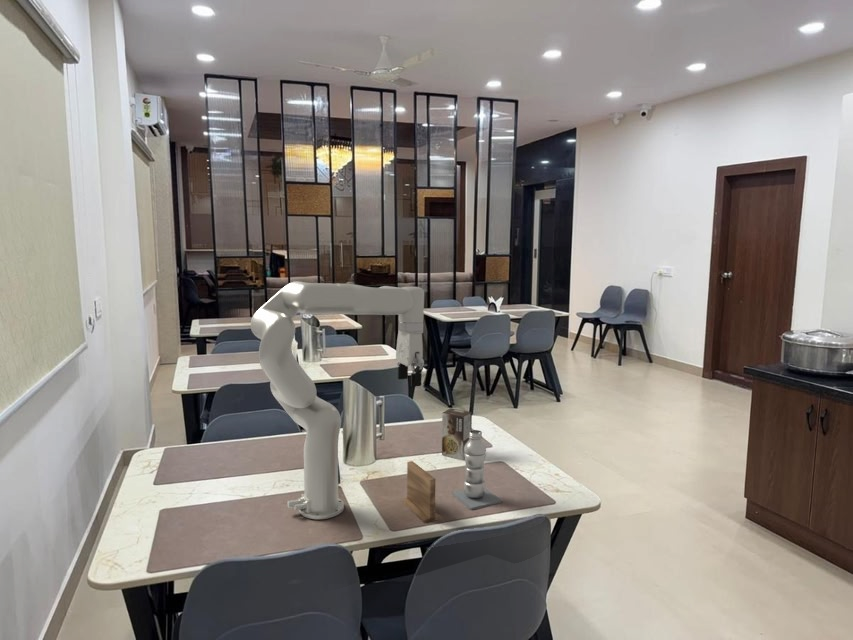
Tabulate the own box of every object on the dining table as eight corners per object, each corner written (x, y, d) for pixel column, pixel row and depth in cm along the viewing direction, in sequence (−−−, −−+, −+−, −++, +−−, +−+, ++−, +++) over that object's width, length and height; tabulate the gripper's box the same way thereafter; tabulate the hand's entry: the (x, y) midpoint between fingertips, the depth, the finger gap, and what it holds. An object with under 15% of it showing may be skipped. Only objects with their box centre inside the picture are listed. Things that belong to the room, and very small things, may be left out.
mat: (470, 509, 161) (470, 507, 161) (451, 494, 170) (451, 492, 170) (502, 502, 166) (502, 500, 166) (481, 487, 176) (481, 485, 176)
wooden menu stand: (424, 522, 153) (424, 481, 151) (401, 501, 165) (402, 462, 164) (440, 518, 155) (440, 477, 154) (416, 498, 168) (417, 460, 166)
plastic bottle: (484, 501, 164) (486, 436, 162) (461, 499, 166) (462, 434, 163) (486, 492, 171) (488, 429, 168) (464, 490, 172) (465, 427, 169)
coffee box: (471, 455, 202) (472, 411, 200) (463, 460, 197) (464, 416, 195) (449, 449, 207) (450, 407, 205) (440, 455, 202) (441, 411, 200)
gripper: (388, 324, 176) (387, 377, 178) (411, 332, 161) (409, 390, 163) (410, 323, 180) (408, 375, 182) (434, 331, 164) (432, 388, 166)
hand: (409, 382), depth 172 cm, fingers open, 9 cm apart
